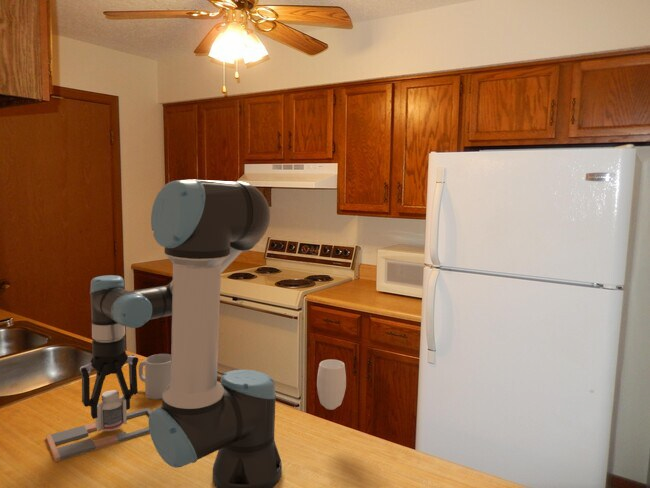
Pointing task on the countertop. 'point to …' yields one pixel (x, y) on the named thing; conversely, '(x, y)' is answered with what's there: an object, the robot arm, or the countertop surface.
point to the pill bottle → (111, 411)
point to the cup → (331, 383)
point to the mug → (156, 374)
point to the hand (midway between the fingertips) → (111, 425)
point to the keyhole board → (89, 444)
